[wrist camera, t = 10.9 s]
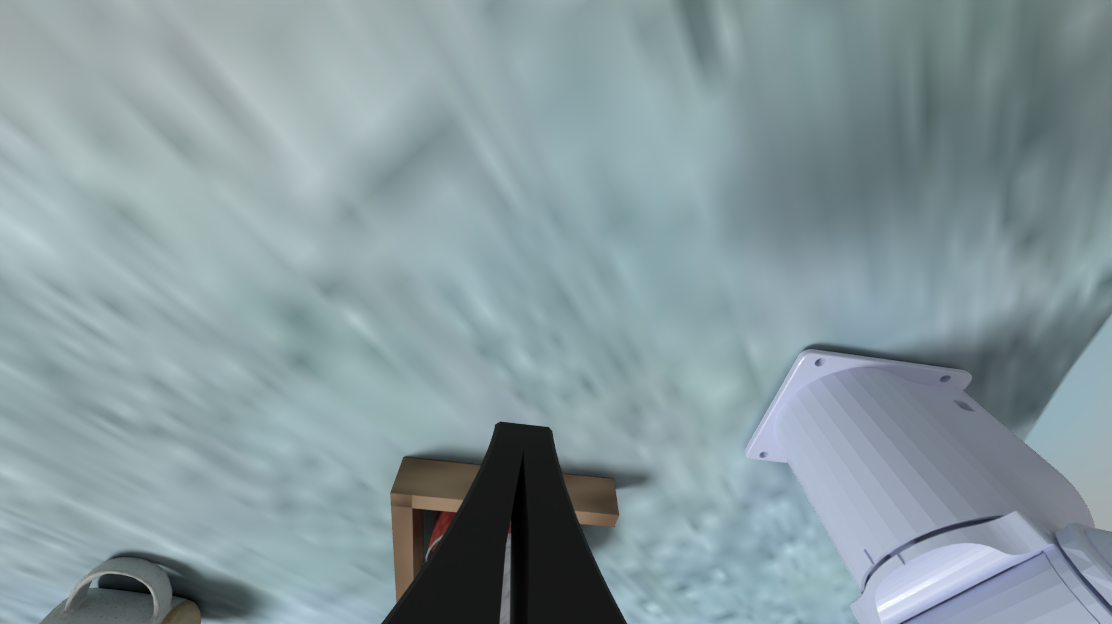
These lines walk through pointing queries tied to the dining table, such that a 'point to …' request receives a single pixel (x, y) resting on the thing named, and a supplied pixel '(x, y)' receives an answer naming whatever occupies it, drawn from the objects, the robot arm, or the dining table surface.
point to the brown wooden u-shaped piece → (446, 491)
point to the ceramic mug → (125, 599)
